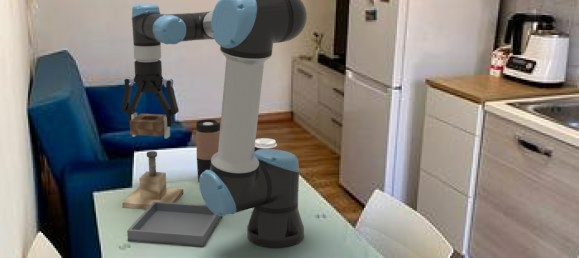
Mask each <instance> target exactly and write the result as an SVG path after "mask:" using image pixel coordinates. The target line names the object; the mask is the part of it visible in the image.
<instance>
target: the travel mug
mask: <svg viewBox="0 0 579 258" xmlns="http://www.w3.org/2000/svg"><path fill="white" fill-rule="evenodd" d="M195 125H196V126H195V127H196V130H195V134H196V136H195V137H196V168H197V169H196V170H197V182H198V183H199V178H200V175H201V174H202V173H203V172H204V171H205V170H210V167H211V158H212V156H213V155H214V154H216V153H217V152H218V148H219V136H220V125H221V121H220V122H218V121H217V120H216V119H210V118H209V119H201V120H198V121H196V123H195Z"/></svg>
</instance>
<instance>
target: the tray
mask: <svg viewBox="0 0 579 258" xmlns="http://www.w3.org/2000/svg"><path fill="white" fill-rule="evenodd" d="M222 217H223V216H218V215H216V214H214V213H213V212H212V211H211V210H210V209H209V208H208V207H207V205H206V204H193V203H181V202H179V203H177V202H176V203H167V202H153V203H152V204H151V205H150V206H149V207H148V209H145V210H144V212H142V214H140V216H139V217H138V218H137V219H136V220H135V221H134V222H133V223H132V225H131V226H129V228H128V229H127V231H126V232H127V233H126V234H127V242H135V243H148V244H159V245H161V244H162V245H171V246H173V245H174V246H183V247H185V246H187V247H196V248H197V247H199V248H204V246H205V245H206V243H207V241H208V240H209V238H210V237H211V236H212V233H213V232H214V230H215V229H216V227H217V225H218V224H219V222H220V220H221V219H222Z"/></svg>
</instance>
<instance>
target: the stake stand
mask: <svg viewBox="0 0 579 258" xmlns="http://www.w3.org/2000/svg"><path fill="white" fill-rule="evenodd" d="M146 157H147V158H148V171H145V172H144V173H143V174H142V175H141V176H140V177H139V178H138V179H139V186H138V187H137V188H136V189H135V190H134V191H133V192H132V193H131V194H130V195H128V197H127V198H125V199H124V200H123V202H122V204H121V205H122V208H125V209H141V210H147V209H148V207H149V206H150V205H151V204H152V203H153V202H167V203H177V202H178V201H179V200H180V198H181V197H182V196H183V195H184V189H183V188H173V187H172V188H171V187H167V172H164V171H163V172H162V171H157V162H156V158H157V157H158V152H157V151H154V150H152V151H147V152H146ZM181 195H182V196H181ZM177 200H178V201H177Z"/></svg>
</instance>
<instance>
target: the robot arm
mask: <svg viewBox="0 0 579 258" xmlns="http://www.w3.org/2000/svg"><path fill="white" fill-rule="evenodd" d="M160 11H161V10H160V7H159V5H158V4H152V3H138V4H135V5H133V6H132V7H131V14H132V15H131V22H132V23H131V26H132V39H133V58H134V63H133V65H134V77H127V78H124V86H125V87H124V93H123V99H122V106H121V109H120V110H121V112H122V113H126V114H127V115H128V116H127V118H128V125H129V126H130V121H131V120H132V119H134V118H135V117H137V116H138V112H136V110H137V107H138V105H139V103H140V100H141V98H142V96H143V95H144V93H151V94H153V95H154V96H155V97H156V99H157V100H158V103H159V104H160V106H161V108H162V109H163V111H164V115H165V116H164V134H163V136H164V139H169V137H171V128H172V126H173V121H174V120H173V116H174V115H176V114H178V113H179V106H178V103H177V98H176V95H175V91H174V80H173V79H170V78H169V79H166V78H164V77H163V69H162V67H163V66H162V60H161V58H162V44H164V45H178V44H179V43H181V42H190V41H191V42H192V41H203V40H204V41H205V40H214V41H215V43H216V44H217V45H219V47H220V48H219V50H220V53H221V54H223V56H225V67H224V69H225V71H224V81H223V90H222V91H223V92H222V102H221V104H222V105H221V113H220V114H221V116H220V136H219V148H218V152H217V153H216V154H214V155H213V156H212V158H211V167H210V170H205V171H204V172H203V173H202V174H201V175H200V178H199V182H198V186H199V190H200V196H201V197H202V200H203V202H204V203H205V204H204V205H207V207H208V208H209V209H210V210H211V211H212V212H213V213H214V214H216V215H218V216H222V217H225V216H228V215H235V214H236V213H240V212H243V211H247V210H249V209H252V212H251V214H250V217H249V221H248V223H247V225H246V237H247V239H248V240H249V241H250V242H251V243H253V244H255V245H257V246H261V247H264V248H274V249H276V248H279V249H280V248H287V247H291V246H294V245H296V244H299V243H300V242H302V240H303V239H304V238H305V226H304V223H303V220H302V217H301V214H300V211H299V183H300V166H299V164H300V163H299V159H298V157H297V156H296V155H295V154H294V153H291V152H289V151H286V150H281V149H276V150H275V149H260V150H257V151H254V149H255V140H256V139H257V138H256V137H257V130H258V120H259V113H260V102H261V93H262V84H263V75H264V68H265V67H264V66H265V62H266V61H268V59H270V58H271V57H272V55H273V47H274V44H278V43H284V42H289V41H292V40H293V39H296V38H297V37H298V36H299V35H300V34H301V33H302V32H303V31H304V29H305V26H306V24H307V19H308V18H307V17H308V15H307V14H308V13H307V9H306V7H305V4H304V2H303V1H302V0H218V1H217V2H216V4H215V5H214V8H213V10H212V11H211V10H210V11H203V12H202V11H201V12H187V13H184V12H183V13H166V14H165V13H163V14H162V13H161V12H160ZM134 84H135V85H136V86H137V90H136V91H135V95H134V97H133V99H132V101H131V97H132V91H133V86H134ZM162 85H164V88H165V91H166V94H167V98H166V97H165V95H164V92H163V89H162V87H161V86H162ZM167 99H168V101H169V102H168V101H167ZM130 102H131V104H130ZM170 127H171V128H170ZM131 136H132V137H133V138H134V137H136V136H138V135H131Z"/></svg>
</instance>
